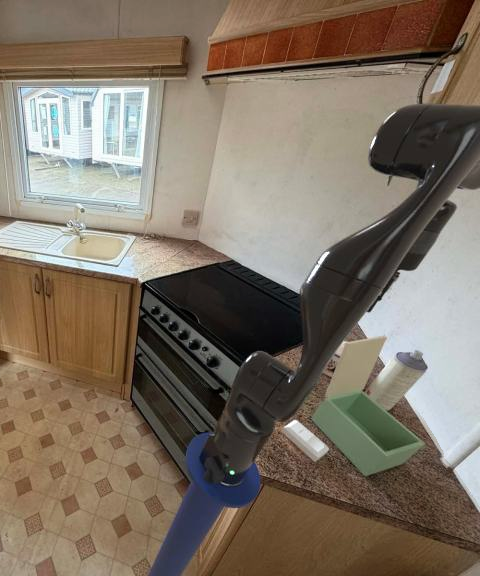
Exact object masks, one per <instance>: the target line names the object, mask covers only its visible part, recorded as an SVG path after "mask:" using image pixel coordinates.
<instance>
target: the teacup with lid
mask: <svg viewBox="0 0 480 576" xmlns="http://www.w3.org/2000/svg"><path fill="white" fill-rule="evenodd" d="M346 342H348V341H347V340H344V342H343V343H342V344H341V346H340V347H339V348H338V350H337V351H336V353H335V354H334V356H333V357H332V359H331V361H330V362H329V364H328V365H327V367H326V369H325V370H324V372H323V374H324V375H325V376H328V377H330V378H332V377H333V374H334V371H335V369H336V366H337V364H338V361H339V359H340V356H341V354H342V351H343V349H344V346H345V344H346Z"/></svg>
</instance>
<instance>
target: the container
mask: <svg viewBox="0 0 480 576" xmlns="http://www.w3.org/2000/svg"><path fill="white" fill-rule="evenodd" d="M364 392H365V391H363V390H359V391H355V392H351V393H346V394H342V395H338V396H333V397H329V398H327V397H325V398H324V399H323V401H322V402H321V404H320V405H319V406H318V408H317V409H316V411H315V412H314V413H313V415H311V417H310V420H311V421H312V422H313V423H314V424H315V425H316V426H317V427H318V428H319V429H320V430H321V432H323V433H324V434H325V436H327V438H328V439H329V440H330V441H331V442H332V443H333V444H334V445H335V447H336V448H338V449H339V451H340V452H341V453H342V454H344V456H345V457H346V458H347V459H348V460H349V461H350V462H351V463H352V464H353V466H355V468H356V469H357V470H358V471H359V472H360V473H361V474H362V475H363V476H364V477H368V476H371V475H374V474H377V473H380V472H382V471H386V470H388V469H391V468H392V469H393V468H394V467H398V466H401V465H404V464H405V463H406V462H407V461H408V460H409V459H410V458H411V457H412V456H414V455H415V454H416V453H417V452H418V451H419V450H421V449H422V448H423V447H424V446H425V445H426V442H424V441H423V440H422V439H421V438H419V437H418V436H417V435H416V434H415V433H413V432H412V431H411V430H410V429H409V428H407V426H405V425H404V424H403V423H402V422H400V421H399V420H398V419H397V418H396V417H394V416H393V415H392V414H390V412H389V411H386V410H385V409H383V408H382V407H381V406H380V405H379V404H377V403H376V402H375V401H374V400H373V399H372V398H370V397H369V396H368V395H367V394H366V393H364Z"/></svg>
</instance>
